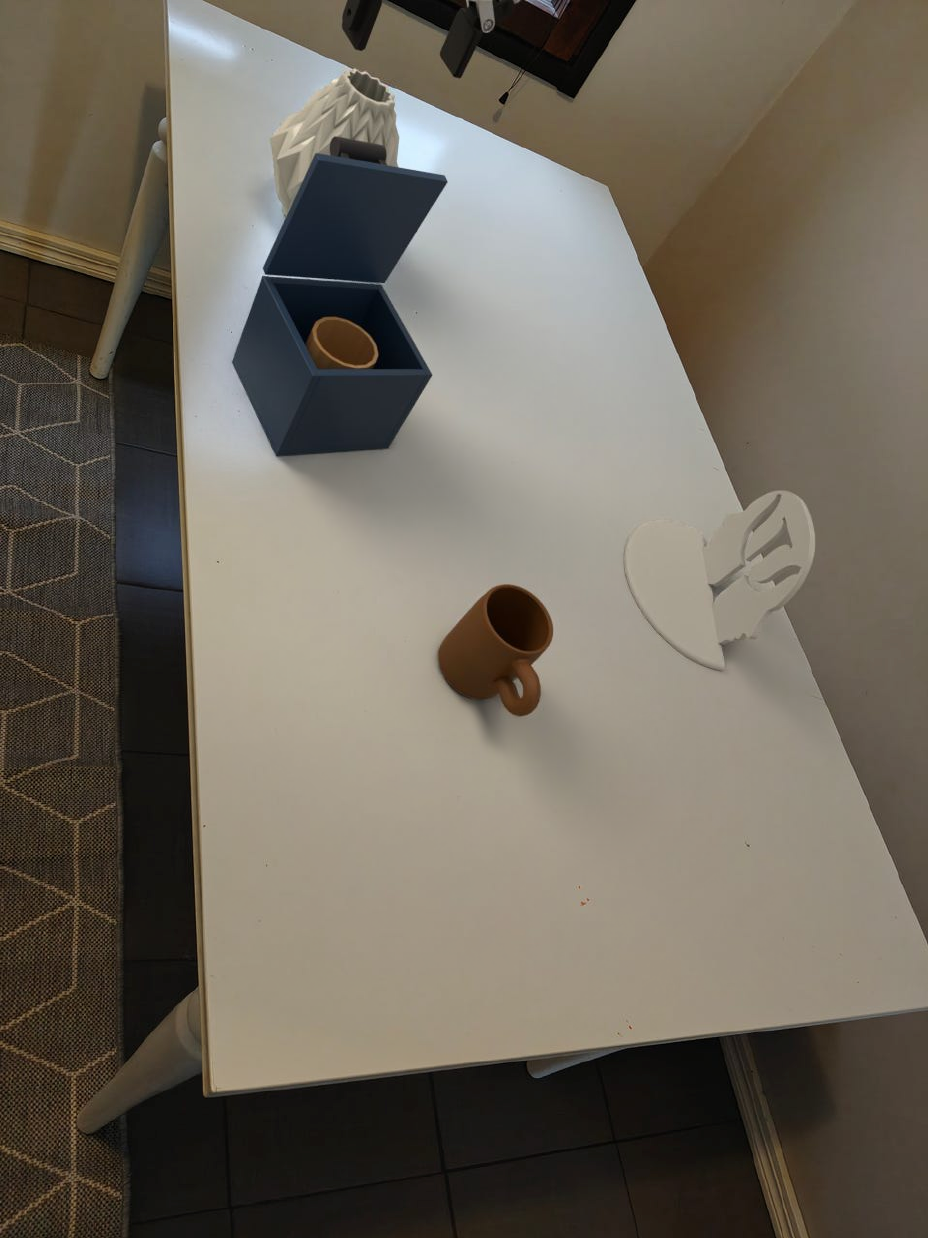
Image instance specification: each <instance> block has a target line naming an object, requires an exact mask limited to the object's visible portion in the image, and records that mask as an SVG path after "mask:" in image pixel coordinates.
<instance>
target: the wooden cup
mask: <svg viewBox="0 0 928 1238" xmlns="http://www.w3.org/2000/svg"><path fill="white" fill-rule="evenodd" d="M305 346H306V348H307V350H308V352H309V354H310V356H311V358H312V360H313V362H314V364H315V366H316V368H317V370H318V369H373V367H374V365H375V363H376V360H377V358H378V350H377V346H376V344H375V342H374V341H373V339H372V338H371V336H370V335H369V334H368V333H367V332H366V331H364V330H363V329H362V328H361V327H360V326H358V325H356V324H354V323H352V322H351V321H349V320H346V319H342V318H338V317H323V318H322V319H320V320H318V321H316V322H315V324H314V326H313V328H312V331H311V333H310V335H309V338H308V340H307V342H306V344H305Z"/></svg>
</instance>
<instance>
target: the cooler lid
mask: <svg viewBox="0 0 928 1238" xmlns="http://www.w3.org/2000/svg"><path fill="white" fill-rule="evenodd" d="M386 157H387V152H386V149H385V147H384V146H383V145H379V144H374V143H369V142H364V141H358V140H353V139H348V138H343V137H337V136H335V137H333V138H332V140H331V142H330V155H325V154H320V153H315V155H314V157H313V160H312V162H311V164H310V166H309V168H308V170H307V173H306V175H305V177H304V179H303V181H302V184H301V186H300V188H299V190H298V192H297V194H296V197H295V199H294V201H293V203H292V205H291V207H290V210H289V212H288V214H287V216H285V219H284V221H283V222H282V225H281V227H280V230H279V231H278V234H277V236H276V238H275V241H274V243H273V244H272V247H271V248H270V251H269V253H268V256H267V257H266V260H265V262H264V264H263V267H262V270H263V273H264V276H275V277H288V278H302V279H316V280H329V281H343V282H357V283H370V284H386V282H387V281H388V279H389V277H390V276H391V274H392V272H393V271H394V270H395V268H396V266H397V264H398V263H399V261H400V259H401V258H402V256H403V255H404V253H405V251H406V250H407V248H408V246H409V245H410V243H411V242H412V240H413V239H414V237H415V235H416V234H417V232H418V231H419V229H420V227H422V226H421V225H422V224H423V222H424V221H425V219H426V218H427V217H428V215H429V213H430V211H431V210H432V209H433V207H434V205H435V203H436V202H437V200H438V198H439V197H440V195H441V194H442V193H443V191H444V189H445V187H446V186H447V184H448V179H447V177H446V175H445V174H439V173H434V172H428V171H422V170H416V169H411V168H406V167H405V168H404V167H399V166H398V167H394V166H388V165H387V164H386Z"/></svg>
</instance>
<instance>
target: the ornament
mask: <svg viewBox="0 0 928 1238" xmlns="http://www.w3.org/2000/svg"><path fill="white" fill-rule="evenodd" d="M775 507H776V508H775ZM774 508H775V509H774ZM773 509H774V511H773V512H772V513H771V514H770V515H769V516H768V518H767V519H766V520H765V521H764V522H763V523H761V524H760V525H759V526H758V527H757V528H755V527H756V526H757V525H758V524H759V523H760V522H761V521H762V519H763V518H765V516H766V515H768V514H769V513H770V512H771V511H772V510H773ZM812 519H813V518H812V515H811V513H810V511H809V508H808V506H807V504H806V502H805V501H804V500H803V499H802V498H801V497H800V496H798V495H797V494H796V493H793V492H791V491H789V490H773V491H770V492H767V493H766V494H764V495H761V496H760V497H758V498H757V499H755V500H753V501H752V502H751V503H750V504H749V505H748V506H747V507H746V508H745V509H744V510H743V511H741V512H737V513H734V514H731V513H730V514H725V516H723V518H722V522H721V526H720V527H717V528H716V529H715V531H714V534H712V535H711V536H710V538H709V540H708V542H707V544H706V545H705V541H704V538H703V537H704V536H703V532H702V531H701V530H699V529H698V528H696V527H693V526H690V525H689V524H686V523H683V522H681V521H676V520H672V519H653V520H649V521H646V522H644V523H642V524H640V525H639V526H637V527H636V528H635V529H634V530H633V531H632V532H631V533H630V535H629V536H628V538H627V539H626V543H625V546H624V552H623V566H624V567H623V568H624V573H625V578H626V581H627V584H628V587H629V589H630V592H631V595H632V597H633V599H634V600H635V603H636V605H637V606H638V609H639V610H640V611H641V613H642V614H643V616H644V617H645V619H646V620H647V621H648V623H649V624H650V625H651V626H652V628H653V629H654V630H655V631H656V632H657V633H658V634H659V636H660V637H662V639H664V641H666V642H667V643H668V645H670V646H671V647H673V648H674V649H675V650H676V651H677V652H679V653H680V654H681V655H683V656H684V657H686V658H688V659H689V660H691V661H693V662H695V663H696V664H698V665H700V666H703V667H706V668H709V669H711V670H715V671H720V672H722V671H724V669H725V667H726V664H725V659H724V652H723V646H722V645H727V644H729V643H731V642H733V643H735V644H737V643H739V641H745V640H746V638H749V639H751V640H756V639H757V638H758V637H759V634H760V633H761V631H762V629H763V627H764V626H765V623H766V622H767V620H768V619H769V618H770V616H771V615H772V613H774V612H776V611H779V610H780V609H782V608H783V607H784V606H786V604H788V603H789V601H790V600H791V599H792V598H793V597H794V596H795V595H796V593H797V592H798V591H799V590H800V588H801V587H802V586H803V584H804V582H805V580H806V579H807V576H808V575H809V572H810V570H811V567H812V565H813V562H814V557H815V551H816V533H815V528H814V521H813V520H812ZM754 529H755V530H754ZM753 530H754V531H753ZM752 531H753V532H752ZM786 531H787V532H788V535H789V539H790V544H791V545H792V546H791V545H789V544H781V545H780V546H778V547H776V548H775V549H773V550H771V552H769V553H768V554H767V555H766V556H764V557H763V558H762V559H761V560H760V561H758V562H756V564H754V565H753V566H752V567H751V568H750V569H749V570H748V571H747V575H746V574H742V575H741V576H739V577H738V579H736V580H735V581H734V582H732V583H731V584H730V585H729V586H727V587H726V588H725V589H723V590H722V591H721V592H720V593H719V594H718V595H717V596H716V598H715V599H714V594H713V589H712V586H714V587H719V586H721V585H723V584H725V582H727V581H728V580H730V579H731V578H732V577H733V576H735V575H736V574H737V573H739V572H740V571H741V570H742V569H744V568H745V567H746V566H747V563H746V561H747V562H749V563H751V562H752V561H754V560H755V559H756V558H757V557H759V555H761V554H762V553H763V552H765V551H766V550H767V549H769V548H770V547H771V546H772V545H773V544H775V543H776V542H777V541H779V539H781V537H782V536H783V535H784V534H785V532H786ZM795 568H800V569H799V571H798V573H793V574H791V575H789V576H787V577H786V578H784V579H783V580H781V581H780V582H779V583H777V584H776V585H774V586H772V587H771V588H768V589H766V590H763V591H757V590H756V589H755V588H754V587H753V586H752V584H751V582H750V581H751V580H752V581H754V582H756V583H759V584H761V585H762V584H763V585H764V584H768V583H771V582H773V581H774V580H776V579H777V578H778V577H779V576H781V575H783V574H784V573H786V572H788V571H790V570H792V569H795ZM750 579H751V580H750Z"/></svg>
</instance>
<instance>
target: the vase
mask: <svg viewBox="0 0 928 1238" xmlns="http://www.w3.org/2000/svg"><path fill="white" fill-rule="evenodd" d="M395 99H396V98H395V95H394V94H393V93H391V92H390V87H389V86H387V85H385V84H382V82H381V80H380V78H379V77H373V76H371V74H370V73H368V71H367V70H366V71H360V70H359V69H358V68H355V67H354V68H353V69H352V70H351V69H348V68H344V70H343V72H342V74H341V75H339V76H338V77H337V78H334V79H332V80H331V81H330V82H329V84H327V85H326V86H323V88H319V89H318V90H315V91H314V92H313V94H312V95H311V96H310V97H309V99H308V100H307V101H306V103H305V104H304V106H303V107H302V108H301V109H300V110H298V111H295V112H293V113H291V114H289V115H288V116H287V117H286V118H285V119H283V120H282V121H281V122H280V123H279V126H278V128H277V130H275V131H274V133H272V135H271V136H270V137H269V144H270V150H271V155H272V162H273V177H274V183H275V189H276V194H277V195H276V196H277V200H278V201H279V203H280V204H281V205H282V207H281V213H282V214H283V215H284V216H285V217H286V216H287V214H288V212H289V210H290V207H291V205H292V203H293V201H294V199H295V197H296V194H297V192H298V190H299V188H300V186H301V184H302V181H303V179H304V177H305V175H306V173H307V170H308V168H309V166H310V164H311V162H312V160H313V157H314V155H315V153H320V154H325V155H330V142H331V140H332V138H333V137H335V136H337V137H343V138H348V139H353V140H358V141H364V142H369V143H374V144H379V145H383V146H384V147H385V149H386V152H387V157H386V164H387V165H388V166H394V167H399V165H398V154H399V145H400V135H399V131H398V128H397V113H396V110H395V106H396V102H395Z"/></svg>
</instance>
